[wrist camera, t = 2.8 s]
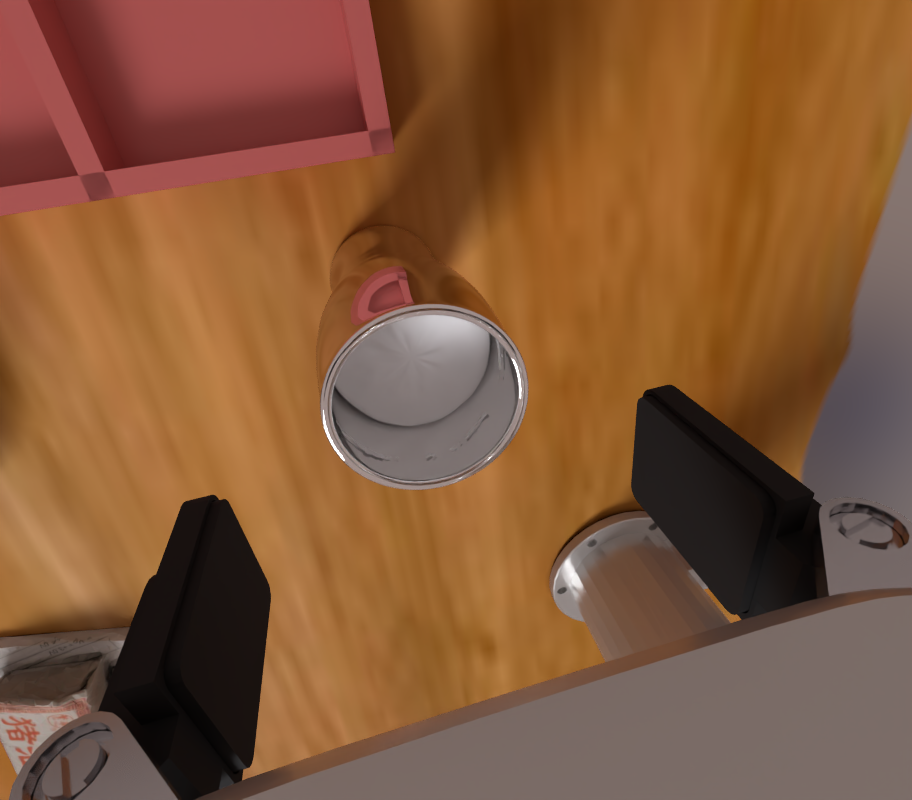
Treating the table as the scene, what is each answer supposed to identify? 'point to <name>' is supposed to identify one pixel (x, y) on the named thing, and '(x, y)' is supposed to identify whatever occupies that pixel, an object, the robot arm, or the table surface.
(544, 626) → the table surface
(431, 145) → the table surface
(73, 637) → the packaged product
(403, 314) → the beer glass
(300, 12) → the tray
